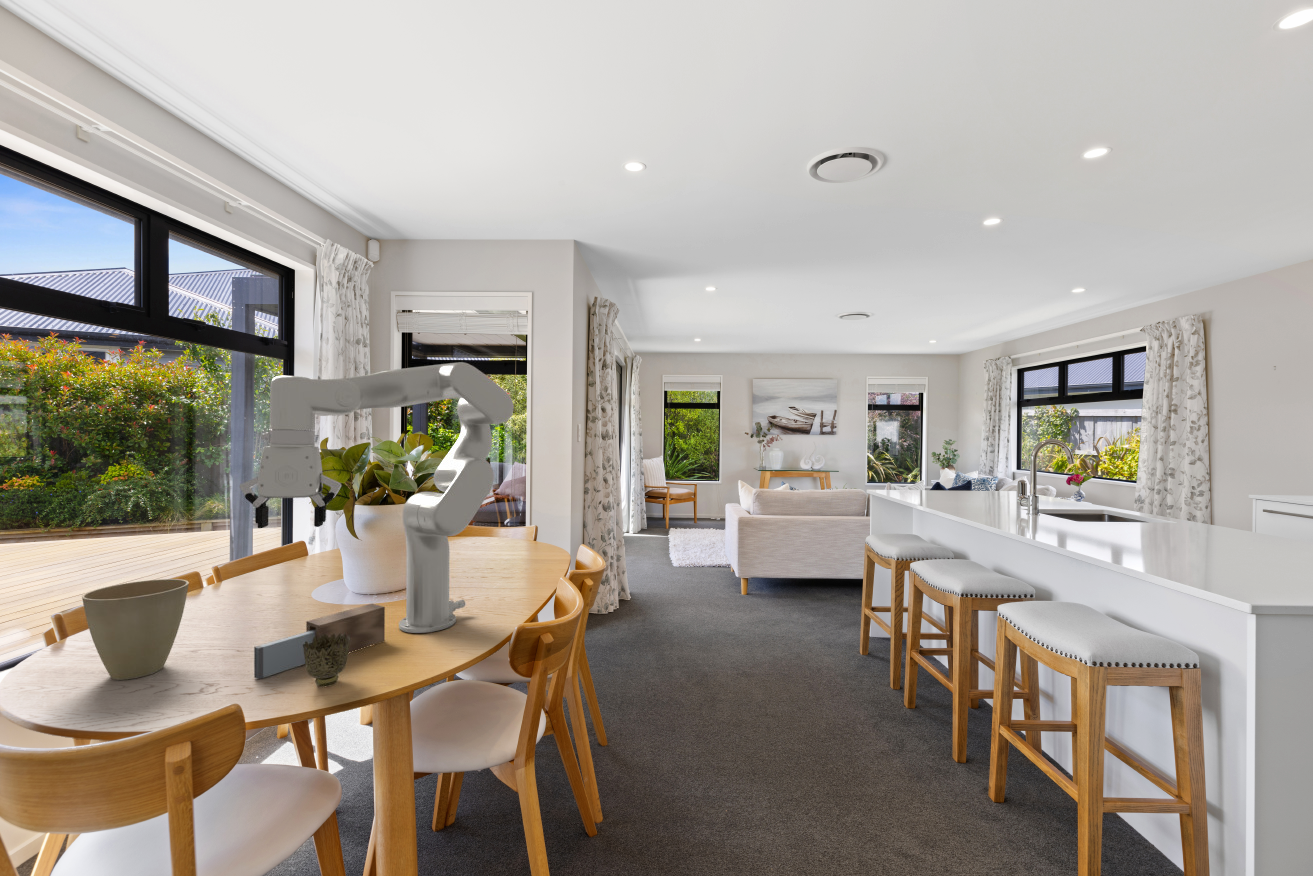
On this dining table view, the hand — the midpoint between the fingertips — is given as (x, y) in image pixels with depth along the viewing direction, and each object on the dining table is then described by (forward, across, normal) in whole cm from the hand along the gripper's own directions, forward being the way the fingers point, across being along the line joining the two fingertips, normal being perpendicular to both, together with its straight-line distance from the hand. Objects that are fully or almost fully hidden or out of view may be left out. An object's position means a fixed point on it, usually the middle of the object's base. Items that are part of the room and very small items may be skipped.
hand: (291, 526), depth 111 cm
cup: (+28, +10, -11) cm, 31 cm away
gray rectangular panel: (+27, +2, -1) cm, 27 cm away
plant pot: (+28, -26, +4) cm, 39 cm away
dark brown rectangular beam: (+27, +9, +6) cm, 29 cm away
